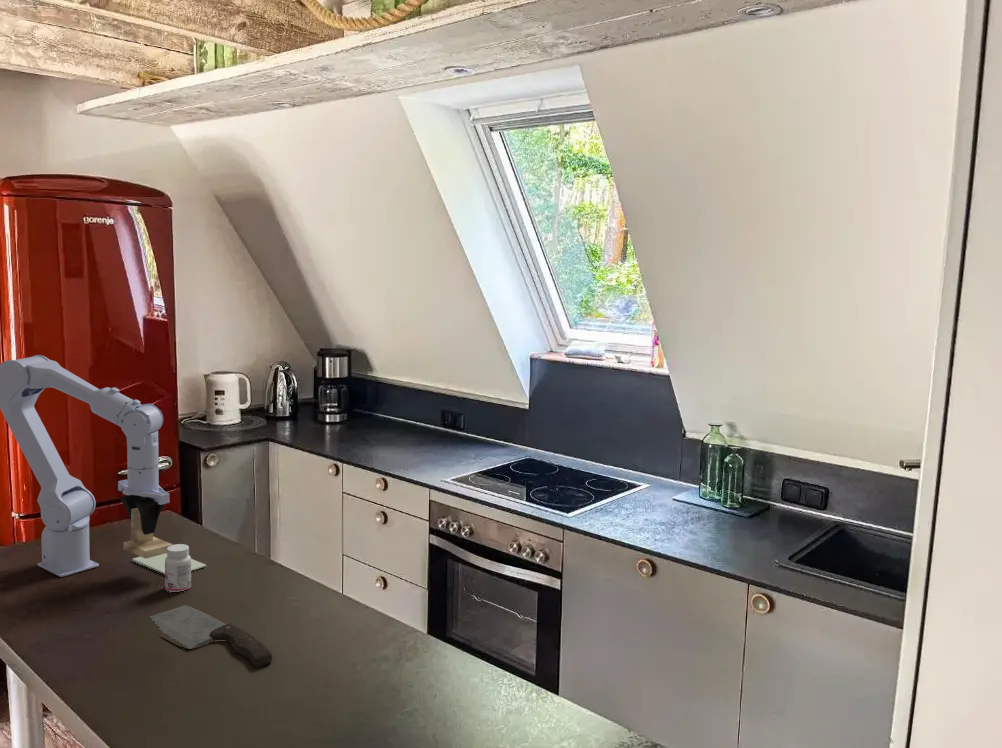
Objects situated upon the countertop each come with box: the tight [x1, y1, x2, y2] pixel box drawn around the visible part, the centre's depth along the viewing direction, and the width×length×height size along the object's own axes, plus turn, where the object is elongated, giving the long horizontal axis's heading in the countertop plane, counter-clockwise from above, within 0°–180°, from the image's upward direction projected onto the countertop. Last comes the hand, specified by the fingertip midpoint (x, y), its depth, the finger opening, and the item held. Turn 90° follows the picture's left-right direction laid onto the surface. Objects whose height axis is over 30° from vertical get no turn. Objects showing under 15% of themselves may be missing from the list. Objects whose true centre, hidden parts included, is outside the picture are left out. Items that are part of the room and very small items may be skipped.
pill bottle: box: [164, 543, 192, 593], centre depth 160 cm, size 5×5×8 cm
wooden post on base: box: [123, 508, 174, 559], centre depth 164 cm, size 8×6×8 cm
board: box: [132, 553, 207, 574], centre depth 172 cm, size 14×8×1 cm, turn 55°
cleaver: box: [149, 604, 273, 668], centre depth 140 cm, size 29×10×2 cm, turn 53°
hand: (143, 531), depth 166 cm, fingers closed on wooden post on base, 3 cm apart
